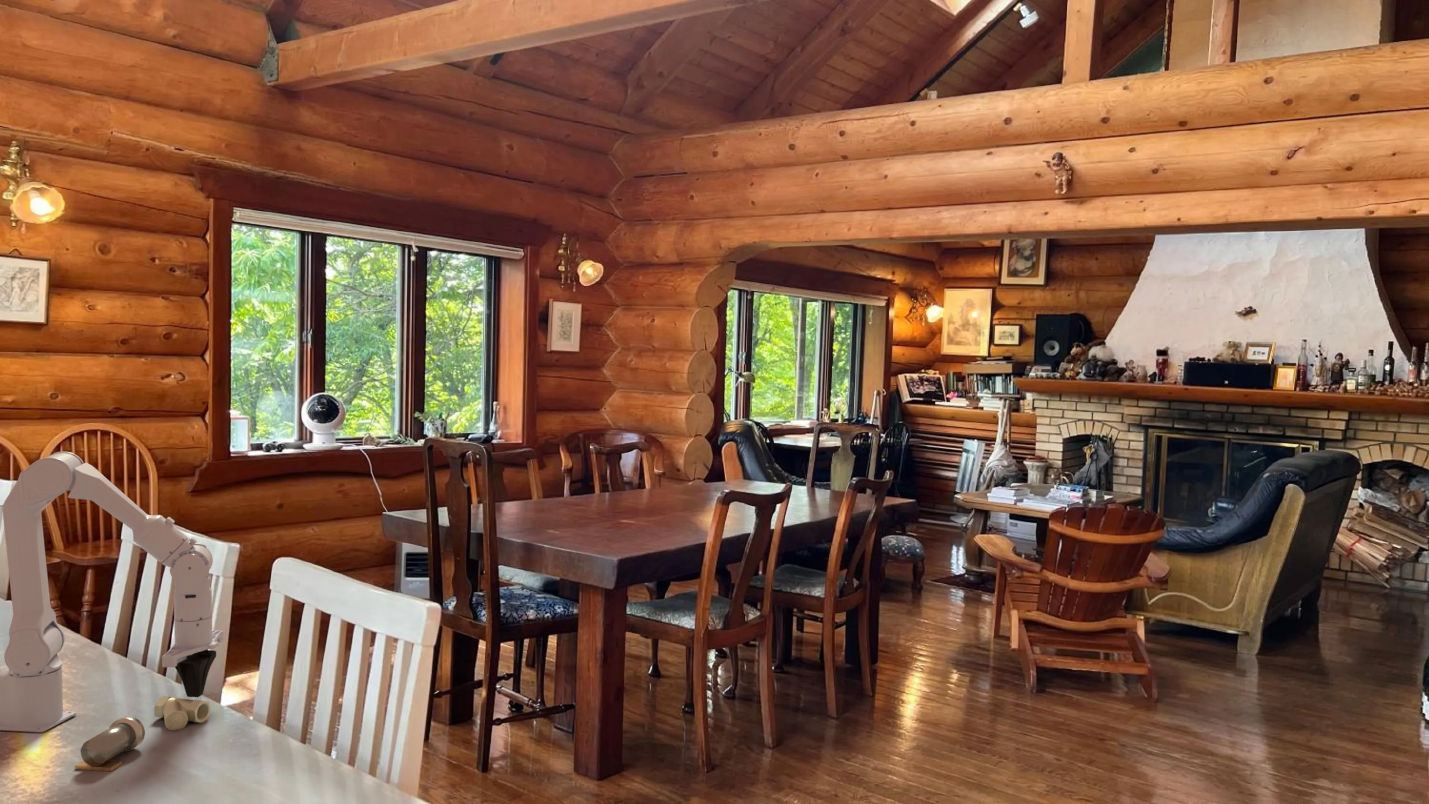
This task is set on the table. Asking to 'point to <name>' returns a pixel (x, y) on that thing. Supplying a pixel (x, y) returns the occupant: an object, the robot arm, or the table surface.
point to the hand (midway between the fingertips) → (194, 695)
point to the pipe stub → (111, 744)
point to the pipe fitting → (181, 711)
